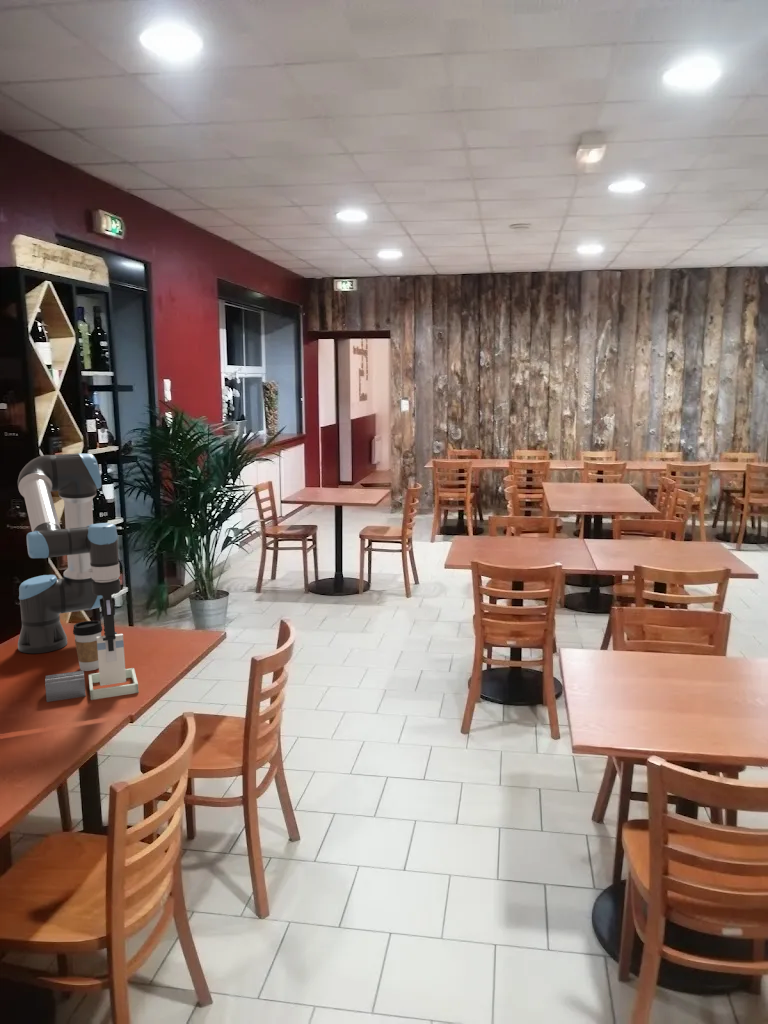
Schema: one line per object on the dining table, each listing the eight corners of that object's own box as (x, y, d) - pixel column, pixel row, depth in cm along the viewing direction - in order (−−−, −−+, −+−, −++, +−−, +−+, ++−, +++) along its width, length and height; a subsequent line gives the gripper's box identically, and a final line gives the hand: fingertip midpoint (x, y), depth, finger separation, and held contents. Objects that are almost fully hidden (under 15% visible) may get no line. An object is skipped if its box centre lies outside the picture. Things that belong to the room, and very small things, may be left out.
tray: (89, 685, 227) (88, 674, 226) (134, 679, 231) (133, 667, 231) (91, 703, 214) (90, 691, 214) (138, 695, 219) (138, 684, 218)
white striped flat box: (100, 683, 222) (96, 636, 219) (125, 680, 224) (122, 633, 222) (100, 685, 220) (96, 638, 218) (126, 682, 223) (123, 635, 221)
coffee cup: (95, 676, 234) (92, 628, 232) (70, 674, 236) (66, 626, 233) (110, 666, 242) (107, 619, 240) (86, 664, 244) (82, 618, 241)
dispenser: (47, 695, 219) (45, 673, 218) (85, 690, 223) (83, 668, 222) (46, 705, 213) (45, 682, 212) (86, 699, 217) (84, 676, 216)
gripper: (90, 574, 223) (96, 653, 226) (92, 586, 209) (98, 670, 213) (118, 571, 225) (123, 649, 229) (121, 583, 212) (127, 666, 216)
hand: (111, 659), depth 221 cm, fingers closed on white striped flat box, 2 cm apart
